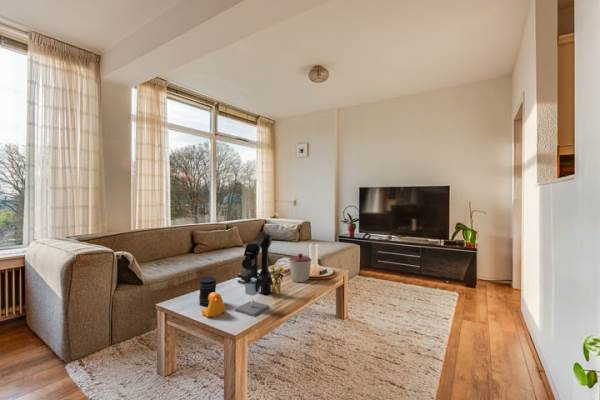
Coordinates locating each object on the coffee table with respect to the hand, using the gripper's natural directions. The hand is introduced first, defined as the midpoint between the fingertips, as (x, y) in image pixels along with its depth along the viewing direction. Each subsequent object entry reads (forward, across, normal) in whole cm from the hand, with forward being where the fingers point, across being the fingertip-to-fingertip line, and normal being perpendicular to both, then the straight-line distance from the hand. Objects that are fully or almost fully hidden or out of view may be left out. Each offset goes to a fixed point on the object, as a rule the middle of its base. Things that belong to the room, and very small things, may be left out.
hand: (252, 291), depth 166 cm
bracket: (+11, -15, -16) cm, 25 cm away
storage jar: (+11, -29, -8) cm, 32 cm away
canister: (+11, -5, +62) cm, 63 cm away
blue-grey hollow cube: (+1, 0, 0) cm, 1 cm away
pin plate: (+11, 0, 0) cm, 11 cm away
